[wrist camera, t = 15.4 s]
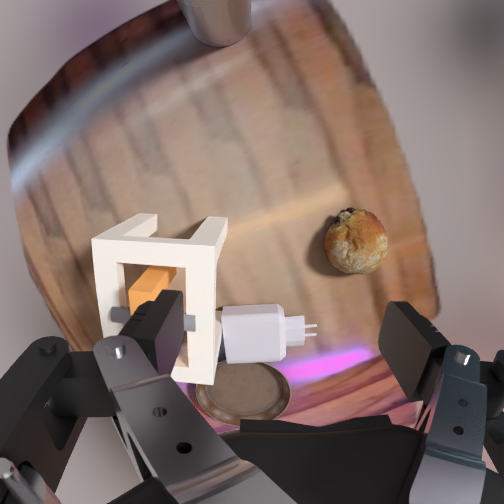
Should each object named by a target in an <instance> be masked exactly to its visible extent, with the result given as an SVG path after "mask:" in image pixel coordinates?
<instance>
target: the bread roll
mask: <svg viewBox="0 0 504 504" xmlns="http://www.w3.org/2000/svg"><path fill="white" fill-rule="evenodd" d="M324 247H325V250H326V252H327V256H328V259H329V261H330V263H331V264H332V265H333V266H334V267H335V268H338V270H340V271H343V272H344V273H350V274H351V273H354V274H370V273H372V272H374V271H375V270H376V269H377V268H378V267H379V266H380V265H381V263H382V262H383V260H384V258H385V256H386V254H387V250H388V242H387V235H386V231H385V229H384V227H383V225H382V224H381V222H380V221H379V220H378V219H377V217H376V216H375V215H374V214H372V213H371V212H367V211H365V210H361V209H354V208H348V209H346V211H345V212H342V213H340V214H339V217H337V218H336V219H335V223H333V224H332V225H331V226H330V228H329V229H328V231H327V234H326V235H325V240H324Z"/></svg>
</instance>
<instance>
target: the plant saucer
mask: <svg viewBox="0 0 504 504" xmlns="http://www.w3.org/2000/svg"><path fill="white" fill-rule="evenodd" d="M196 397H197V400H198V403H199V404H200V406H201V407H202V409H203V410H204V411H205V412H206V413H207V414H208V415H210V416H211V417H212V418H214V419H216V420H218V421H220V422H222V423H225V424H228V425H232V426H238V427H240V419H253V420H274V419H276V418H277V417H279V416H280V415H281V414H282V413H283V412H284V411H285V410H286V408H287V407H288V405H289V403H290V399H291V387H290V384H289V382H288V380H287V378H286V377H285V375H284V374H283V373H282V372H281V371H279V370H278V369H277V368H275V367H274V366H272V365H270V364H268V363H266V362H257V363H234V364H227V360H223V361H220V362H218V363H217V366H216V372H215V378H214V384H213V385H206V384H196Z"/></svg>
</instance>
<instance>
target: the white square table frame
mask: <svg viewBox="0 0 504 504" xmlns="http://www.w3.org/2000/svg"><path fill="white" fill-rule="evenodd" d="M227 224H228V218H227V217H209V216H208V217H207V218H206V219H205V221H204V222H203V223H202V224H201V226H200V227H199V228H198V229H197V231H196V232H195V233H194V234H193V236H192V237H191V238H190V239H172V238H154V237H149V236H150V235H151V234H153V233H154V232H155V231H156V230H157V214H137V215H135V216H133V217H131V218H130V219H128V220H126V221H124V222H122V223H120V224H118V225H116V226H114V227H112V228H110V229H109V230H107V231H105V232H103V233H101V234H99V235H97V236H96V237H94V238H92V239H91V240H92V253H93V264H94V274H95V283H96V291H97V299H98V306H99V313H100V319H101V325H102V331H103V337H104V338H105V337H109V336H115V335H118V334H119V332H120V331H121V330H122V328H123V327H124V325H125V324H126V323H127V321H128V320H130V317H131V312H130V307H127V302H126V291H125V280H124V267H123V263H131V264H144V265H157V266H170V267H184V268H186V313H184V331H187V341H188V358H182V357H177V359H176V362H175V365H174V368H173V370H172V373H171V377H172V379H173V380H174V381H178V382H187V383H196V384H206V385H213V384H214V378H215V372H216V366H217V360H218V355H219V349H220V343H221V337H222V332H223V330H222V320H221V315H222V311H218V310H215V303H216V263H217V260H218V258H219V255H220V252H221V249H222V246H223V244H224V241H225V238H226V235H227Z"/></svg>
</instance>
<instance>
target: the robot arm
mask: <svg viewBox="0 0 504 504" xmlns="http://www.w3.org/2000/svg"><path fill="white" fill-rule="evenodd" d="M176 1H177V3H178V5H179V6H180V8H181V10H182V12H183V14H184V16H185V18H186V20H187V22H188V24H189V26H190V28H191V30H192V32H193V34H194V35H195V37H196V38H197V39H198V40H199V41H201V42H202V43H204V44H206V45H210V46H216V47H221V46H228V45H232V44H234V43H236V42H238V41H239V40H241V39H242V38H243V37H244V36H245V35H246V34H247V33H248V31H249V29H250V26H251V0H176ZM183 337H184V313H183V293H182V291H177V290H165V289H162V290H161V292H160V293H159V295H158V296H157V298H156V299H155V301H149V300H148V301H146V302H145V303H143V304H141V305H139V306H138V307H137V309H136V310H135V312H134V314H132V316H131V317H130V320H128V321H127V323H126V324H125V325H124V327H123V328H122V330H121V331H120V332H119V334H118V335H115V336H109V337H105V338H103V339H101V340H99V341H98V342H97V343H96V344H95V345H94V348H93V351H85V352H70V349H69V345H68V343H67V341H66V340H64V339H63V338H60V337H55V336H50V337H43V338H40V339H38V340H36V341H34V342H33V343H32V344H31V345H30V346H29V347H28V348H27V349H26V350H25V351H24V352H23V354H22V355H21V356H20V357H19V358H18V359H17V360H16V361H15V363H14V364H13V365H12V366H11V367H10V368H9V370H8V371H7V372H6V373H5V374H4V375H3V377H2V378H1V379H0V504H61V502H60V500H59V499H58V498H57V496H56V495H55V492H56V489H57V487H58V484H59V482H60V479H61V477H62V474H63V472H64V470H65V467H66V465H67V462H68V460H69V458H70V455H71V453H72V451H73V449H74V446H75V444H76V442H77V440H78V437H79V435H80V433H81V431H82V429H83V426H84V424H85V422H86V420H87V418H88V417H111V419H112V421H113V423H114V425H115V427H116V430H117V432H118V434H119V436H120V438H121V440H122V442H123V444H124V447H125V449H126V451H127V453H128V454H129V456H130V458H131V461H132V463H133V465H134V467H135V469H136V472H137V474H138V476H139V477H140V479H141V482H142V483H140V484H139V485H137V486H135V487H134V488H132V489H131V490H129V491H127V492H126V493H124V494H122V495H121V496H119V497H117V498H116V499H114V500H112V501H111V502H109V503H107V504H504V412H503V411H502V410H503V408H504V350H500V351H498V352H497V354H496V356H495V358H494V361H493V362H486V361H480V357H479V355H478V354H477V353H476V352H475V351H474V350H473V349H471V348H469V347H466V346H463V345H457V344H455V345H451V344H450V342H449V341H448V340H447V339H446V338H445V337H444V336H443V335H442V334H441V333H440V332H438V330H437V329H436V327H435V326H433V324H432V323H431V322H430V321H429V320H428V319H427V318H425V317H424V316H422V315H420V314H419V313H418V312H417V311H416V310H415V309H414V308H413V307H412V306H411V305H410V304H409V303H408V302H407V301H390V302H389V303H388V305H387V307H386V311H385V315H384V319H383V323H382V327H381V330H380V334H379V340H378V344H379V349H380V351H381V353H382V355H383V357H384V358H385V360H386V362H387V363H388V365H389V367H390V368H391V370H392V372H393V374H394V375H395V377H396V379H397V381H398V382H399V384H400V386H401V388H402V389H403V391H404V393H405V395H406V397H407V398H408V400H409V402H415V401H422V400H423V404H422V406H421V408H420V410H419V413H418V416H417V419H416V422H415V424H414V427H413V428H410V427H406V426H402V425H395V424H392V423H391V420H390V418H389V416H388V414H387V415H378V416H368V417H357V418H352V419H349V420H345V421H342V422H338V423H334V424H330V425H326V426H322V427H316V426H309V425H303V424H297V423H292V422H286V421H281V420H253V419H240V430H234V431H229V432H224V433H221V434H217V433H216V432H215V430H214V429H213V428H212V427H211V426H210V425H209V423H208V422H207V421H206V420H205V419H204V418H203V416H202V415H201V414H200V413H199V412H198V410H197V409H196V408H195V407H194V405H193V404H192V403H191V402H190V400H189V399H188V398H187V397H186V395H185V394H184V393H183V392H182V390H181V389H180V388H179V386H178V385H177V384H176V382H175V381H174V380H173V379H172V377H171V373H172V370H173V368H174V365H175V362H176V359H177V357H178V354H179V351H180V348H181V346H182V342H183ZM46 403H47V404H46ZM45 405H46V406H45ZM44 406H45V407H44ZM483 445H484V447H485V449H486V450H487V453H488V454H489V456H490V458H491V460H492V461H493V464H494V465H495V467H496V469H497V471H498V473H499V474H498V473H496V472H494V471H492V470H490V469H488V468H486V463H485V462H484V461H482V451H483Z"/></svg>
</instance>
